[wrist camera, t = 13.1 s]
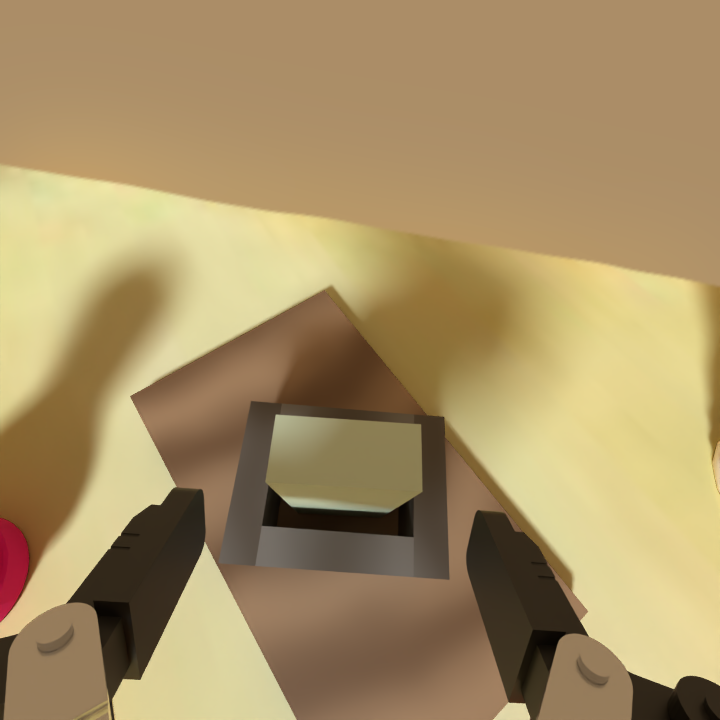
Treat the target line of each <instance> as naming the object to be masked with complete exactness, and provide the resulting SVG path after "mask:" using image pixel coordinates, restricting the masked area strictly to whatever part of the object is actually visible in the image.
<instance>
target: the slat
mask: <svg viewBox="0 0 720 720" xmlns="http://www.w3.org/2000/svg"><path fill="white" fill-rule="evenodd" d="M265 482H266V483H267V484H268V485H269V486H270V487H271V488H272V489H273V490H274V491H275V492H276V493H277V494H278V495H279V496H280V497H282V498H283V499H284V500H285V501H286V502H287V503H288V504H289V505H290V506H291V507H292V508H293V509H294V510H295V511H296V512H297V513H306V514H323V515H340V516H357V517H374V518H381V517H383V516H384V515H386V514H388V513H389V512H391V511H392V510H394V509H396V508H397V507H399V506H401V505H402V504H404V503H405V502H407V501H409V500H410V499H412V498H413V497H415V496H417V495H418V494H420V493H421V492H423V491H422V443H421V424H408V423H393V422H378V421H363V420H349V419H334V418H319V417H304V416H289V415H276V416H275V423H274V429H273V436H272V442H271V449H270V455H269V462H268V468H267V475H266V481H265Z"/></svg>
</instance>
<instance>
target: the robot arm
mask: <svg viewBox="0 0 720 720" xmlns="http://www.w3.org/2000/svg"><path fill="white" fill-rule="evenodd" d="M205 535H206V526H205V506H204V493H203V490H202V489H193V488H179V487H175V488H173V489H172V490H171V492H170V493H169V494H168V496H167V497H166V499H165V500H164V501H163V503H162V504H161V505H150V506H149V507H147V508H146V509H144V510H143V511H142V512H140V513H139V514H137V515H136V516H135V517H133V519H132V520H131V521H130V522H129V524H128V525H127V526H126V528H125V529H124V530H123V531H122V533H121V536H119V537H118V538H117V539H116V540H115V542H114V543H113V544H112V546H111V549H108V551H107V552H106V553H105V555H104V556H103V557H102V558H101V560H100V561H99V562H98V564H97V565H96V566H95V567H94V569H93V570H92V571H91V573H90V574H89V575H88V576H87V578H86V579H85V580H84V582H83V583H82V584H81V585H80V587H79V588H78V589H77V591H76V592H75V593H74V595H73V596H72V597H71V598H70V600H69V601H68V602H67V603H66V604H64V605H60V606H57V607H55V608H52V609H50V610H48V611H46V612H44V613H43V614H41V615H39V616H38V617H36V618H35V619H34V620H32V621H31V622H30V623H29V624H28V625H26V626H25V627H24V628H23V629H22V630H21V632H20V633H19V634H16V635H13V636H9V637H4V638H0V720H115V714H114V706H113V700H112V699H113V697H114V695H115V693H116V691H117V689H118V687H119V685H120V683H121V682H122V680H123V679H135V680H140V679H141V677H142V675H143V673H144V671H145V669H146V667H147V665H148V663H149V661H150V658H151V656H152V654H153V652H154V650H155V648H156V646H157V644H158V642H159V640H160V638H161V636H162V634H163V632H164V629H165V627H166V625H167V623H168V621H169V619H170V617H171V615H172V613H173V611H174V609H175V607H176V605H177V603H178V600H179V598H180V596H181V594H182V592H183V590H184V588H185V586H186V584H187V582H188V580H189V578H190V576H191V574H192V572H193V569H194V567H195V565H196V563H197V561H198V559H199V557H200V555H201V552H202V549H203V546H204V542H205ZM466 565H467V571H468V575H469V579H470V582H471V585H472V588H473V591H474V594H475V598H476V601H477V604H478V607H479V610H480V613H481V617H482V620H483V623H484V626H485V629H486V632H487V636H488V639H489V642H490V645H491V648H492V651H493V655H494V658H495V661H496V664H497V667H498V670H499V674H500V677H501V680H502V683H503V686H504V689H505V693H506V696H507V699H508V702H509V703H526V706H527V709H528V712H529V715H530V720H720V686H719V685H717V684H715V683H713V682H711V681H709V680H707V679H704V678H701V677H696V676H686V677H683V678H681V679H680V680H679V682H678V683H677V685H676V687H675V689H672V688H669V687H666V686H664V685H661V684H658V683H656V682H653V681H650V680H648V679H645V678H642V677H640V676H637V675H635V674H632V673H630V672H628V671H627V670H626V668H625V667H624V665H623V664H622V663H621V661H620V660H619V659H618V658H617V657H616V656H615V655H614V654H613V653H612V652H611V651H610V650H609V649H608V648H607V647H605V646H604V645H603V644H601V643H600V642H598V641H596V640H594V639H592V638H590V637H589V636H588V634H587V633H586V631H585V629H584V627H583V625H582V624H581V622H580V620H579V618H578V617H577V615H576V613H575V611H574V609H573V608H572V606H571V604H570V602H569V601H568V599H567V597H566V595H565V593H564V592H563V590H562V588H561V586H560V585H559V583H558V581H556V580H555V576H554V574H553V572H552V570H551V569H550V567H549V566H548V565H547V561H546V560H545V558H544V556H543V554H542V553H541V551H540V549H539V547H538V546H537V545H536V544H535V543H534V542H533V541H532V540H531V539H530V538H529V537H528V536H527V535H526V534H525V533H524V532H516V531H514V529H513V527H512V525H511V523H510V521H509V519H508V517H507V515H506V514H505V513H504V512H498V511H484V510H478V511H476V513H475V516H474V521H473V525H472V529H471V534H470V538H469V542H468V547H467V552H466Z"/></svg>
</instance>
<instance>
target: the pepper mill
mask: <svg viewBox="0 0 720 720" xmlns="http://www.w3.org/2000/svg"><path fill="white" fill-rule="evenodd" d="M28 566H29V552H28V546H27V541H26V539H25V538H24V536H23V534H22V533H21V531H20V530H19V529H18V528H17V527H16V526H15V525H14V524H13V523H11V522H10V521H8V520H5V519H3V518H0V622H1V621H2V620H3V618H4V617H5V616H6V615H7V614H8V612H9V611H10V610H11V609H12V607H13V605H14V604H15V602H16V600H17V598H18V597H19V595H20V593H21V591H22V589H23V586H24V583H25V580H26V577H27V573H28Z"/></svg>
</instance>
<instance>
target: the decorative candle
mask: <svg viewBox="0 0 720 720" xmlns="http://www.w3.org/2000/svg"><path fill="white" fill-rule="evenodd" d="M712 465H713V470H714V475H715V480H716V486H717V490H718V491H719V493H720V441H719V442H718V443H717V446H716V450H715V454H714V458H713V462H712Z"/></svg>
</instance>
